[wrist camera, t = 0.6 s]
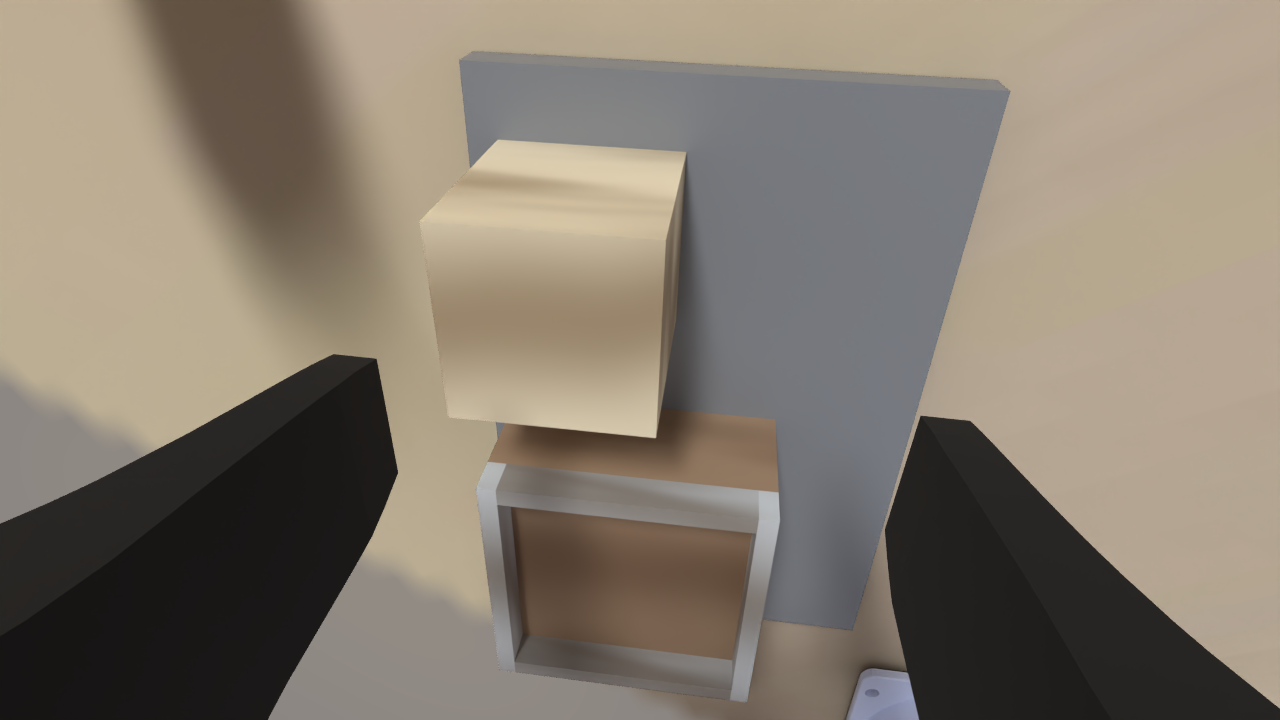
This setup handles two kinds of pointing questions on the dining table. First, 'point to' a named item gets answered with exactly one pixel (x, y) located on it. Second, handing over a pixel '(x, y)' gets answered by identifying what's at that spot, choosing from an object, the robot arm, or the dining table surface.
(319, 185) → the dining table surface
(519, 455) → the walnut plinth
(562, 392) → the maple block
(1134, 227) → the dining table surface
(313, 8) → the dining table surface
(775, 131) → the board
